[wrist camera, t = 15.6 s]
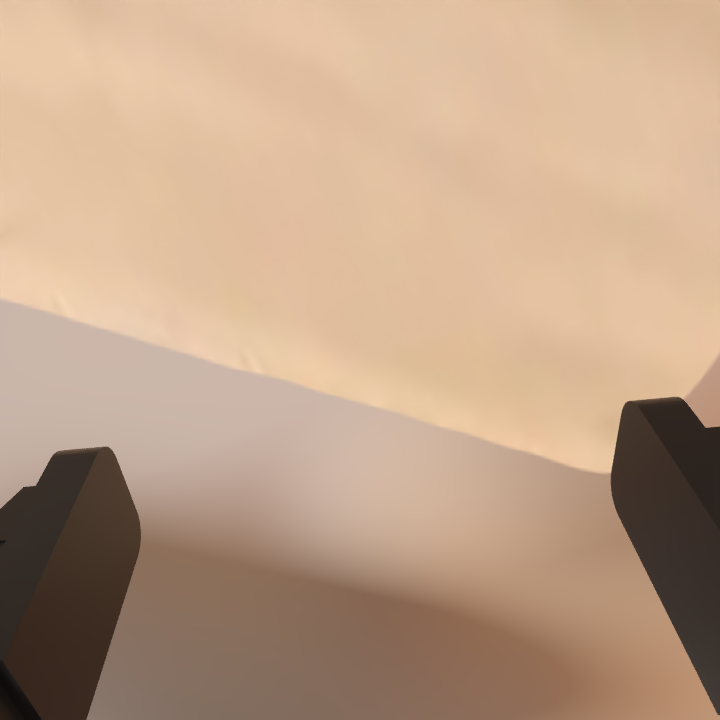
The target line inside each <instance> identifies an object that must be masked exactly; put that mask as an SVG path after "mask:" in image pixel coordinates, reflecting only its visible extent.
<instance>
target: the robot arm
mask: <svg viewBox="0 0 720 720" xmlns="http://www.w3.org/2000/svg"><path fill="white" fill-rule="evenodd" d="M611 490H612V497H613V501H614V505H615V508H616V511H617V513H618V516H619V518H620V519H621V522H622V524H623V526H624V528H625V530H626V532H627V534H628V536H629V538H630V540H631V542H632V544H633V546H634V548H635V550H636V552H637V554H638V556H639V557H640V560H641V562H642V564H643V566H644V568H645V570H646V571H647V574H648V576H649V578H650V580H651V582H652V584H653V586H654V588H655V590H656V592H657V594H658V596H659V598H660V599H661V602H662V604H663V606H664V608H665V610H666V612H667V614H668V616H669V618H670V620H671V622H672V624H673V626H674V628H675V630H676V632H677V634H678V636H679V638H680V640H681V642H682V644H683V646H684V648H685V650H686V652H687V654H688V655H689V658H690V660H691V662H692V664H693V666H694V668H695V670H696V671H697V674H698V676H699V678H700V680H701V682H702V684H703V686H704V688H705V690H706V692H707V694H708V696H709V698H710V700H711V702H712V704H713V706H714V708H715V710H716V712H717V714H718V715H720V427H711V428H705V427H704V425H703V424H702V423H701V421H700V420H699V419H698V417H697V416H696V415H695V414H694V412H693V411H692V410H691V408H690V407H689V406H688V404H687V403H686V402H685V401H684V400H683V399H681V398H679V397H669V398H658V399H647V400H636V401H628V402H627V403H625V405H624V407H623V409H622V413H621V419H620V425H619V431H618V436H617V442H616V448H615V454H614V460H613V466H612V472H611ZM140 540H141V529H140V521H139V517H138V513H137V510H136V508H135V505H134V503H133V500H132V497H131V495H130V492H129V490H128V487H127V485H126V482H125V479H124V477H123V474H122V471H121V469H120V466H119V464H118V461H117V459H116V456H115V454H114V453H113V451H112V450H111V449H110V448H109V447H97V448H86V449H74V450H64V451H58V452H56V453H55V454H54V455H53V456H52V458H51V459H50V461H49V463H48V465H47V466H46V468H45V470H44V472H43V474H42V476H41V477H40V479H39V481H38V483H37V485H36V486H31V487H23V488H22V489H21V490H20V491H19V492H18V493H17V494H16V495H15V496H14V497H13V498H12V499H11V500H9V501H8V502H7V503H6V504H5V505H4V506H3V507H2V508H1V509H0V720H86V719H87V716H88V713H89V710H90V706H91V703H92V700H93V697H94V694H95V691H96V687H97V684H98V681H99V678H100V675H101V671H102V668H103V665H104V662H105V659H106V656H107V652H108V649H109V646H110V643H111V640H112V636H113V633H114V630H115V627H116V624H117V621H118V618H119V614H120V611H121V608H122V604H123V602H124V599H125V595H126V592H127V589H128V586H129V583H130V580H131V576H132V573H133V570H134V566H135V564H136V560H137V557H138V554H139V549H140Z"/></svg>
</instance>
